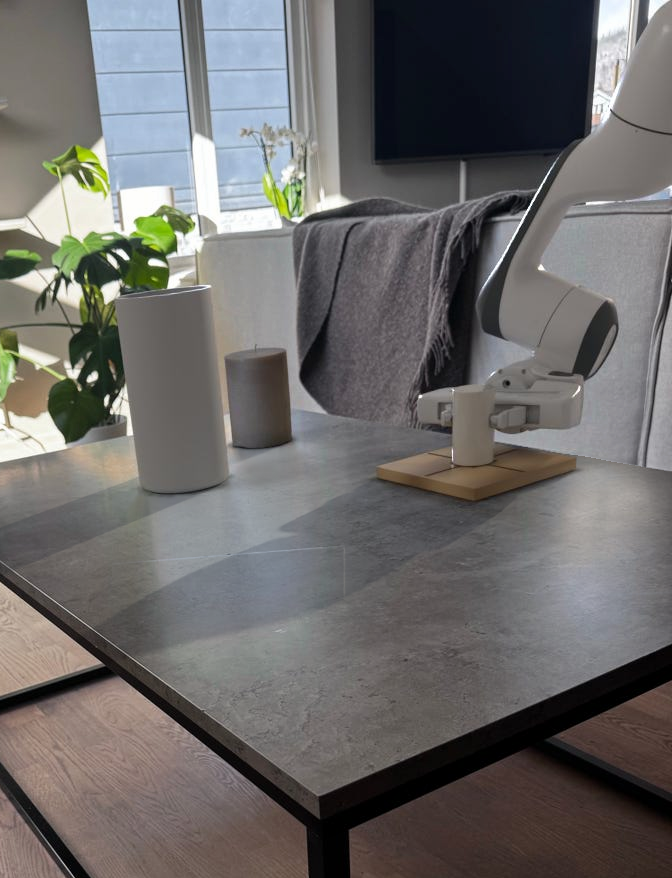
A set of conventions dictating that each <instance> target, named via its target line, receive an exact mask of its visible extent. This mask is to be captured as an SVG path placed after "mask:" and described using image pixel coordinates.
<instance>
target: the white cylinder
mask: <svg viewBox="0 0 672 878" xmlns="http://www.w3.org/2000/svg"><path fill="white" fill-rule="evenodd" d="M455 387H456V388H454V389H453V401H452V426H451V429H452V430H451V432H452V433H451V446H452V462H453V463H454V464H456V465H460V466H480V465H485V464H489V463H491V462H493V461H494V444H495V432H496V431H495V430H496V429H495V428H490V423H491V421H490V415H491V414H492V413H494V412H495V393H496V387H495V386H493V385H487V384H484V383H478V384H475V383H473V384H465V385H459V386H455Z"/></svg>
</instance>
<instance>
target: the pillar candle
mask: <svg viewBox="0 0 672 878" xmlns="http://www.w3.org/2000/svg"><path fill="white" fill-rule="evenodd" d="M257 346H258V343H255V344H254V348H251V349H243V350H238V351H234V352H231V353H228V354H225V355H224V356H223V359H224V368H225V369H224V370H225V377H226V390H227V401H228V402H227V403H228V411H229V422H230V433H231V442H232V446H233V447H240V448H247V449H263V448H271V447H275V446H280V445H283V444H286V443H287V442H290V441H292V440H293V431H292V429H293V428H292V411H291V408H292V407H291V393H290V380H289V377H290V376H289V365H288V356H287V349H286V348H284V347H259V348H257Z"/></svg>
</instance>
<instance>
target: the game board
mask: <svg viewBox="0 0 672 878" xmlns="http://www.w3.org/2000/svg"><path fill="white" fill-rule="evenodd" d="M576 469H577V457H576V456H570V455H565V454H558V453H551V452H546V451H541V450H535V449H528V448H522V447H516V446H510V445H505V444H498V443H494V461H493V462H491V463H489V464H485V465H480V466H460V465H456V464H454V463H453V462H452V445H450V446H446V447H442V448H438V449H435V450H430V451H428V452H424V453H421V454H420V453H419V454H417V455H413V456H409V457H406V458H402V459H398V460H395V461H392V462H388V463H384V464H380V465H377V466H376V469H375V470H376V471H375V473H376V479H381V480H385V481H389V482H393V483H396V484H402V485H406V486H409V487H413V488H417V489H422V490H425V491H426V490H427V491H431V492H435V493H438V494H443V495H447V496H451V497H456V498H459V499H463V500H467V501H472V502H476V501H479V500H480V501H481V500H483V499H486V498H489V497H490V498H491V497H493V496H496V495H499V494H503V493H506V492H509V491H512V490H515V489H518V488H521V487H525V486H527V485H530V484H534V483H536V482H539V481H543V480H546V479H549V478H553V477H555V476H559V475H563V474H565V473H569V472H573V471H575V470H576Z"/></svg>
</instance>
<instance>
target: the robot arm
mask: <svg viewBox="0 0 672 878" xmlns="http://www.w3.org/2000/svg"><path fill="white" fill-rule="evenodd" d="M671 186H672V0H668V1H666V2H664V3H663V4H662V5H661V6H660V7H658V9H657V10H656V11H655V12H654V13H653V15H652V16H651V18H650V19H649V21H648V23H647V24H646V26H645V28H644V30H643V32H641V34H640V36H639V38H638V40H637V43H636V44H635V46H634V47H633V50H632V51H631V54H630V55H629V58H628V59H627V61H626V64H625V66H624V68H623V69H622V72H621V74H620V77H619V79H618V81H617V83H616V86H615V88H614V90H613V92H612V95H611V98H610V100H609V103H608V105H607V108H606V110H605V113H604V115H603V116H602V118H601V120H600V121H599V122H598V124H597V126H596V127H594V129H593V130H592V132H591V133H589V135H587V136H586V137H583V138H579V139H575V140H573V141H572V142H570V144H568V145H567V146H566V147H565V148H564V149H563V150H562V151H561V153H560V154H559V156H558V157H557V158H556V160H555V161H554V162H553V164H552V165H551V167H550V169H549V170H548V172H547V174H546V176H545V177H544V179H543V181H542V182H541V184H540V185H539V188H538V189H537V191H536V192H535V195H534V196H533V198H532V200H531V202H530V204H529V206H528V208H527V209H526V211H525V213H524V215H523V217H522V219H521V220H520V222H519V224H518V226H517V228H516V230H515V232H514V234H513V236H512V238H511V239H510V241H509V243H508V245H507V247H506V249H505V250H504V253H503V254H502V256H501V258H500V259H499V261H498V262H497V264H496V266H495V267H494V269H493V271H492V272H491V273H490V275H489V276H488V278H487V279H486V281H485V283H484V285H483V286H482V288H481V290H480V291H479V294H478V297H477V299H476V301H475V311H476V316H477V319H478V322H479V324H480V327H481V329H482V332H483V333H484V334H487V335H490V336H492V337H495V338H498V339H501V340H503V341H506V342H510V343H512V344H514V345H517V346H519V347H521V348H523V349H525V350H528V351H530V352H532V353H533V354H532V355H530V356H527V357H525V358H523V359H522V360H519V361H516V362H513V363H511V364H508V365H507V366H503V367H502V368H499V369H497V370H495V371H494V372H492V373H491V374H490V375H489V376H488V378H486V380H485V381H484V383H483V384H487V385H493V386H495V387H496V393H495V412H494V413H492V414H491V415H490V421H491V423H490V428H495V430H496V431H497V432H500V433H502V434H507V435H519V434H522V433H524V432H527V431H528V432H534V431H537V430H541V429H542V430H557V431H558V430H559V431H561V430H571V429H572V428H576V427H578V426H580V425H581V421H582V416H583V411H584V400H585V399H584V398H585V385H586V382H587V381H589V380H590V379H591V378H593V377H595V375H596V374H597V373H598V372H599V371H600V369H601V368H602V367H603V365H604V363H605V362H606V361H607V359H608V357H609V355H610V353H611V351H612V349H613V347H614V345H615V344H616V340H617V338H618V334H619V330H620V326H619V316H618V310H617V307H616V304H615V302H614V300H613V299H612V298H609V297H607V296H604V295H603V294H601V293H599V292H597V291H595V290H592V289H589V288H587V287H585V286H582V285H580V284H579V285H578V284H576V283H574V282H571V281H569V280H567V279H565V278H563V277H561V276H558V275H557V274H554V273H551V272H549V271H548V270H546V269H545V268H544V267H543V265H542V261H541V259H542V257H543V255H544V253H545V252H546V250H547V248H548V246H549V244H550V243H551V241H552V239H553V238H554V236H555V234H556V232H557V231H558V229H559V227H560V225H561V223H562V222H563V220H564V218H565V217H566V215H567V213H568V211H569V210H570V209H571V207H573V206H575V205H579V204H584V203H594V202H625V201H633V200H638V199H643V198H645V197H650V196H653V195H655V194H657V193H660V192H662V191H664V190H666V189H668V188H669V187H671ZM456 387H457V386H455V387H454V386H453V387H444V388H443V387H442V388H439V389H435V390H433V391H432V390H431V391H428V392H425V393H422V394H420V395H419V396H418V397H417V401H416V417H417V420H418V422H419V423H420V424H426V425H428V424H429V425H440V426H441V427H452V401H453V389H454V388H456Z"/></svg>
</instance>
